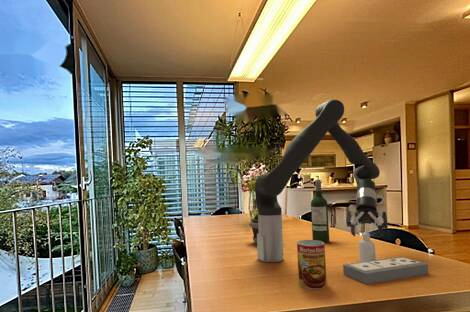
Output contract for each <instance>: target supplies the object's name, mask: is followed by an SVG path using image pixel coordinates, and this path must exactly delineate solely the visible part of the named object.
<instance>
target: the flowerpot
mask: <svg viewBox="0 0 470 312" xmlns="http://www.w3.org/2000/svg"><path fill="white" fill-rule="evenodd" d="M248 225H249V227H250V228H251V229H252V234H253V236H252V241H253V242H254V243H255V245H257V234H259V227H258V212H257V213H256V214H255V216H254V217H253V218H252V219H251V221H249V223H248Z"/></svg>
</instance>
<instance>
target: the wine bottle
mask: <svg viewBox="0 0 470 312" xmlns="http://www.w3.org/2000/svg"><path fill="white" fill-rule="evenodd" d="M314 181H315V185H314V186H315V196H314V198H312V200H311V202H310V207H311V208H310V211H311V212H310V214H311V231H312V232H311V234H312V235H311V236H312V240H317V241H322V242H324V243H325V244H328V243H330V230H329V229H330V227H329V210H328V209H329V207H328V200H327V199H326V198H324V197H323V193H322V192H323V191H322V180H321V179H315V180H314Z"/></svg>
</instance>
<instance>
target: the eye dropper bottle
mask: <svg viewBox="0 0 470 312" xmlns="http://www.w3.org/2000/svg"><path fill="white" fill-rule="evenodd" d="M376 255H377V253H376V244H375V242H373V241H372V240H371V235H370V233H369V231H368V230H367V229H364V232H363V233H362V239H361V240H359V241H358V256H359V257H358V258H359V263H360V262H367V261H374V260H377V258H376Z"/></svg>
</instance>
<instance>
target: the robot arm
mask: <svg viewBox="0 0 470 312" xmlns="http://www.w3.org/2000/svg"><path fill="white" fill-rule="evenodd" d="M344 114H345V106H344V103H343V102H342V101H341V100H338V99H330V100H328V101H325V102H323V103H321V104H319V105H318V106H317V107H316V109H315V117H316V118H315V119H314V120H313V121H312V122H311V123H309V124H308V125H307V126H306V127H304V128H303V129H302V130H301V131H299V132H298V133H297V134H296V135H295V136H294V137H293V139H292V140H291V141H290V142H289V144H288V145H287V147H286V149H285V151H284V154H283V156H282V158H281V160H280V161H279V162H278V163H277V165H276V166H275V167H274V168H273V169H272V170H271V171H270V172H268V173H266V172H265V173H262V174H259V175H258V176H257V178H256V180H255V183H254V194H255V206H256V208H257V213H258V227H259V234H257V244H256V248H257V249H256V250H257V259H258V260H259V261H261V262H262V263H278V262H282V261H284V243H283V242H284V240H283V239H284V238H283V237H284V235H283V214H282V207H281V205H280V204H279V201H278V196H279V195H280V194H281V193H282V192H283V191H284V189H285V188H286V186H287V185H288V183H289V182H290V180H291V178H292V177H293V175H295V173H296V172H297V171H298V169H299V168H300V167H301V166H302V165H303V163H304V162H305V161H306V160H307V159H308V158H309V157H310V155H312V152H314V150H315V149H316V147H317V146H318V145H319V144H320V143H321V141H322V140H323V139H324V138H325V136H326V134H329V135H330V136H331V138H333V139H334V141H335V143H337V145H338V146H339V148H340V150H341V151H342V152H343V154H344V155H345V157H346V159H347V160H348V162H349V163H350V164H351V165H361V166H359V167H356V168H355V169H354V170H353V172H352V173H353V178H354V179H355V182H356V183H355V184H356V191H357V192H356V199H355V200H356V201H355V212H351V210H348V211H347V213H346V219H345V222H346V223H345V224H346V227H348V228H349V227H350V234H351V235H352V236H353V237H356V227H357V226H359V225H360V224H362V225H363V224H365V225H366V224H368V225H371V224H373V225H374V226H375V227H376V228H377V236H378V238H379V239H380V238H381V237H383V235H384V234H383V230H384V229H388V227H389V224H388V218H387V216H388V215H387V212H386V211H382V212H378V205H377V204H378V203H377V202H378V200H377V195H376V193H377V192H376V183H375V182H374V179H377V178H379V176H380V174H381V173H380V169H379V167H378V165H377V164H376V163H375V162H374V161H373V160H372V159H370V158H369V157H368V156H367V154H365V153H364V151H363V149H362V147H361V146H360V144H359V142H358V141H357V140H356V139H355V138H354V137H353V136H351V135H350V134H349V133H348V132H346V131H345V130H344V128H342V126H340V124H339V123H338V122H339V121H341V119H342V118H343V116H344ZM354 217H355V218H354ZM379 217H380V219H381V220H382V221H383V222H381V221H380V220H379V219H378V218H379ZM353 218H354V220H352V219H353Z"/></svg>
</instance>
